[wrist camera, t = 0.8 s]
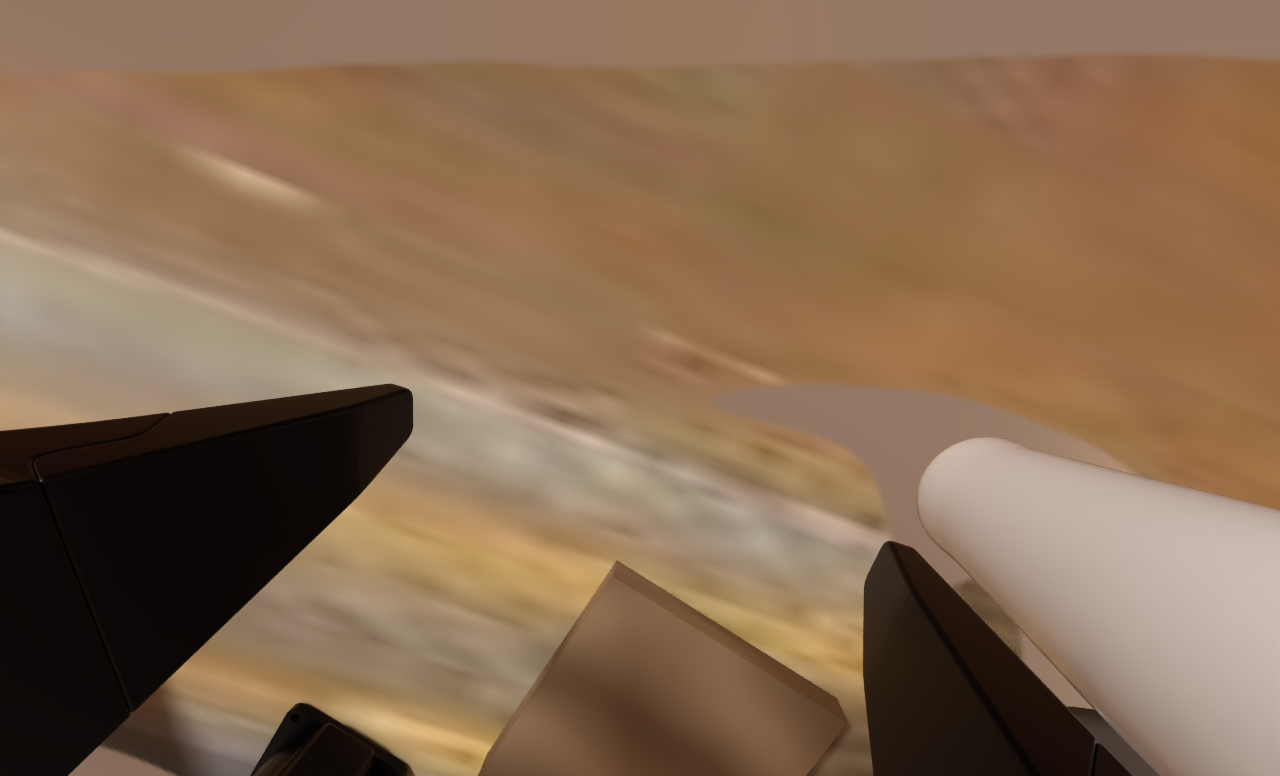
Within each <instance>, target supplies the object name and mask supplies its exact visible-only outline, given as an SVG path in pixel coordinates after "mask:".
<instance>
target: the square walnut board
mask: <svg viewBox="0 0 1280 776" xmlns="http://www.w3.org/2000/svg"><path fill="white" fill-rule="evenodd" d="M847 724H848V723H847V721H846V719H845V716H844V714H843V712H842V710H841V707H840V705H839V703H838V700H837V698H835V697H834V696H832V695H830V694H829V693H827V692H826V691H824V690H822V689H821V688H819V687H818V686H816V685H814V684H813V683H811V682H810V681H808V680H806V679H805V678H803V677H802V676H800V675H798V674H797V673H795V672H794V671H792V670H791V669H789V668H787V667H786V666H784V665H783V664H781V663H779V662H778V661H776V660H775V659H773V658H771V657H770V656H768V655H767V654H765V653H763V652H762V651H760V650H759V649H757V648H755V647H754V646H752V645H751V644H749V643H747V642H746V641H744V640H743V639H741V638H740V637H738V636H736V635H735V634H733V633H732V632H730V631H728V630H727V629H725V628H724V627H722V626H720V625H719V624H717V623H716V622H714V621H712V620H711V619H709V618H708V617H706V616H704V615H703V614H701V613H700V612H698V611H696V610H695V609H693V608H692V607H690V606H689V605H687V604H685V603H684V602H682V601H681V600H679V599H677V598H676V597H674V596H673V595H671V594H669V593H668V592H666V591H665V590H663V589H661V588H660V587H658V586H657V585H655V584H653V583H652V582H650V581H649V580H647V579H646V578H644V577H642V576H641V575H639V574H638V573H636V572H634V571H633V570H631V569H630V568H628V567H626V566H625V565H623V564H622V563H620V562H618V561H616V563H615V564H614V566H613V567H612V569H611V570H610V572H609V573H608V575H607V576H606V578H605V579H604V581H603V582H602V584H601V585H600V587H599V588H598V590H597V591H596V593H595V594H594V596H593V597H592V599H591V600H590V602H589V603H588V605H587V606H586V608H585V609H584V610H583V612H582V613H581V615H580V616H579V618H578V619H577V621H576V622H575V624H574V625H573V627H572V628H571V630H570V631H569V633H568V634H567V636H566V637H565V639H564V640H563V642H562V643H561V645H560V646H559V648H558V649H557V651H556V652H555V654H554V655H553V657H552V658H551V660H550V661H549V663H548V664H547V666H546V667H545V669H544V670H543V671H542V673H541V674H540V676H539V677H538V679H537V680H536V682H535V683H534V685H533V686H532V688H531V689H530V691H529V692H528V694H527V695H526V697H525V698H524V700H523V701H522V703H521V704H520V706H519V707H518V709H517V710H516V712H515V713H514V715H513V716H512V718H511V719H510V721H509V722H508V724H507V725H506V727H505V728H504V730H503V731H502V732H501V734H500V735H499V737H498V738H497V740H496V741H495V743H494V744H493V746H492V747H491V749H490V750H489V752H488V753H487V756H486V758H485V760H484V763H483V765H482V768H481V770H480V772H479V775H478V776H806V775H807V774H808V773H809V771H810V770H811V769H812V768H813V766H814V765H815V764H816V763H817V761H818V760H819V759H820V758H821V756H822V755H823V754H824V753H825V751H826V750H827V749H828V748H829V746H830V745H831V744H832V743H833V741H834V740H835V739H836V738H837V736H838V735H839V734H840V733H841V731H842V730H843V729H844V728H845V726H846V725H847Z"/></svg>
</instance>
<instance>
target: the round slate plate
mask: <svg viewBox="0 0 1280 776" xmlns="http://www.w3.org/2000/svg"><path fill="white" fill-rule="evenodd" d="M1067 708H1068V709H1069V710H1070V711H1071V712H1072V713H1073V714H1074V715H1075V716H1076V717H1077V718H1078V719H1079V720H1080V721H1081V722H1082V723H1083V724H1084V726H1085V727H1086V728H1087V729H1088V730H1089V731H1090V732H1091V733H1092V734H1093V735H1094V736H1095V737H1096V739H1097V743H1101V744H1103V745H1104V746H1105V747H1106V748H1107V749H1108V750H1109V751H1110V752H1111V753H1112V754H1113V755H1114V757H1115V758H1116V759H1117V760H1118V761H1119V762H1120V763H1121V764H1122V765H1123V766H1124V767H1125V768H1126V769H1127V770H1128V771H1129V772H1130V773H1131V774H1132V775H1133V776H1159V775H1158V774H1157V773H1156V772H1155V771H1154V770H1153V769H1152V768H1151V767H1150V766H1149V765H1148V764H1147V763H1146V762H1145V761H1144V760H1143V759H1142V758H1141V757H1140V756H1139V755H1138V754H1137V753H1136V752H1135V751H1134V750H1133V749H1132V748H1131V747H1130V746H1129V745H1128V744H1127V743H1126V742H1125V741H1124V740H1123V739H1122V738H1121V737H1120V736H1119V735H1118V734H1117V733H1116V732H1115V731H1114V730H1113V729H1112V728H1111V727H1110V725H1109V724H1108V723H1107V722H1106V721H1105V720H1104V719H1103V718H1102V717H1101V716H1100V715H1099V714H1098V713H1097V712H1096V711H1095V710H1092V709H1085V708H1078V707H1067Z"/></svg>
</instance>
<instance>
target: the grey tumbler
mask: <svg viewBox="0 0 1280 776" xmlns="http://www.w3.org/2000/svg"><path fill="white" fill-rule="evenodd" d="M917 510H918V515H919V518H920V521H921V523H922V525H923V527H924V529H925V531H926V532H927V534H928V535H929V537H930V538H931V539H932V540H933V541H934V542H935V543H936V544H937V545H938V546H939V547H940V548H941V549H942V550H943V551H945V552H946V553H947V554H948V555H949V556H950V557H952V558H953V559H954V560H955V561H956V562H957V563H958V564H959V565H960V566H961V567H962V568H963V569H964V570H965V571H966V572H967V573H968V574H969V575H970V576H971V577H972V578H973V580H974V581H975V582H976V583H977V584H978V585H979V586H980V587H981V588H982V589H983V590H984V591H985V592H986V593H987V594H988V595H989V596H990V598H991V599H992V600H993V601H994V602H995V603H996V604H997V605H998V606H999V607H1000V608H1001V609H1002V610H1003V611H1004V612H1005V614H1006V615H1007V616H1008V617H1009V618H1010V619H1011V620H1012V621H1013V622H1014V623H1015V624H1016V625H1017V626H1018V628H1019V629H1020V630H1021V631H1022V632H1023V633H1024V634H1025V635H1026V636H1027V637H1028V638H1029V639H1030V640H1031V642H1032V643H1033V644H1034V645H1035V646H1036V647H1037V648H1038V649H1039V650H1040V651H1041V652H1042V653H1043V654H1044V656H1046V658H1047V659H1048V660H1049V661H1050V662H1051V663H1052V664H1053V665H1054V666H1055V667H1056V669H1058V671H1059V672H1060V673H1061V674H1062V675H1063V676H1064V677H1065V678H1066V679H1067V680H1068V681H1069V683H1070V684H1071V685H1072V686H1073V687H1074V688H1075V689H1076V690H1077V691H1078V692H1079V693H1080V694H1081V696H1082V697H1083V698H1084V699H1085V700H1086V701H1087V702H1088V703H1089V704H1090V705H1091V706H1092V707H1093V709H1094V710H1095V711H1096V712H1097V713H1098V714H1099V715H1100V716H1101V717H1102V718H1103V719H1104V720H1105V721H1106V722H1107V723H1108V724H1109V725H1110V727H1111V728H1112V729H1113V730H1114V731H1115V732H1116V733H1117V734H1118V735H1119V736H1120V737H1121V738H1122V739H1123V740H1124V741H1125V742H1126V743H1127V744H1128V745H1129V746H1130V747H1131V748H1132V749H1133V750H1134V751H1135V752H1136V753H1137V754H1138V755H1139V756H1140V757H1141V758H1142V759H1143V760H1144V761H1145V762H1146V763H1147V764H1148V765H1149V766H1150V767H1151V768H1152V769H1153V770H1154V771H1155V772H1156V773H1157V774H1158V775H1159V776H1280V510H1279V509H1275V508H1271V507H1267V506H1263V505H1259V504H1255V503H1251V502H1246V501H1242V500H1238V499H1234V498H1230V497H1226V496H1222V495H1218V494H1213V493H1209V492H1205V491H1201V490H1197V489H1193V488H1188V487H1184V486H1180V485H1176V484H1172V483H1168V482H1164V481H1159V480H1155V479H1151V478H1147V477H1143V476H1139V475H1135V474H1131V473H1127V472H1122V471H1118V470H1114V469H1110V468H1106V467H1102V466H1098V465H1094V464H1090V463H1086V462H1082V461H1078V460H1074V459H1070V458H1066V457H1062V456H1058V455H1054V454H1050V453H1047V452H1043V451H1039V450H1035V449H1032V448H1029V447H1027V446H1024V445H1022V444H1019V443H1016V442H1013V441H1010V440H1006V439H1002V438H994V437H979V438H972V439H968V440H964V441H961V442H959V443H957V444H954V445H953V446H950V447H949V448H947V449H945V450H944V451H942V452H941V453H940V454H939V455H937V456H936V458H934V459H933V461H932V462H931V463H930V464H929V465H928V467H927V468H926V470H925V472H924V473H923V475H922V478H921V480H920V483H919V486H918V491H917Z"/></svg>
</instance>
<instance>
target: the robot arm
mask: <svg viewBox="0 0 1280 776" xmlns="http://www.w3.org/2000/svg"><path fill="white" fill-rule="evenodd" d="M412 429H413V395H412V392H411V391H410V390H409V389H407V388H404V387H401V386H398V385H394V384H382V385H375V386H367V387H360V388H352V389H344V390H337V391H329V392H321V393H314V394H306V395H298V396H291V397H283V398H276V399H268V400H260V401H253V402H245V403H237V404H230V405H222V406H215V407H207V408H199V409H192V410H184V411H176V412H173V413H172V414H170V413H160V414H153V415H145V416H137V417H129V418H121V419H112V420H104V421H96V422H86V423H76V424H67V425H57V426H47V427H37V428H26V429H16V430H5V431H0V776H68V775H69V774H70V773H71V772H72V771H73V770H74V769H75V768H76V767H77V766H78V765H79V764H80V763H81V762H82V761H84V759H86V758H87V757H88V756H89V755H90V754H91V753H92V752H93V751H94V750H95V749H96V748H97V747H98V746H99V745H100V744H101V743H102V742H103V741H104V740H105V739H106V738H107V737H109V736H110V735H111V734H112V733H113V732H114V731H115V730H116V729H117V728H118V727H119V726H120V725H121V724H122V723H123V722H124V721H125V720H126V719H127V718H128V717H129V716H130V715H131V713H130V712H134V711H135V710H136V709H137V708H138V707H139V706H140V705H141V704H142V703H143V702H145V701H146V700H147V699H148V698H149V697H150V696H151V695H152V694H153V693H154V692H155V691H156V690H157V689H158V688H159V687H160V686H161V685H162V684H163V683H164V682H165V681H166V680H167V679H169V678H170V677H171V676H172V675H173V674H174V673H175V672H176V671H177V670H178V669H179V668H180V667H181V666H182V665H183V664H184V663H185V662H186V661H187V660H188V659H189V658H190V657H191V656H193V655H194V654H195V653H196V652H197V651H198V650H199V649H200V648H201V647H202V646H203V645H204V644H205V643H206V642H207V641H208V640H209V639H210V638H211V637H212V636H213V635H214V634H215V633H217V632H218V631H219V630H220V629H221V628H222V627H223V626H224V625H225V624H226V623H227V622H228V621H229V620H230V619H231V618H232V617H233V616H234V615H235V614H236V613H237V612H238V611H239V610H241V609H242V608H243V607H244V606H245V605H246V604H247V603H248V602H249V601H250V600H251V599H252V598H253V597H254V596H255V595H256V594H257V593H258V592H259V591H260V590H261V589H262V588H263V587H265V586H266V585H267V584H268V583H269V582H270V581H271V580H272V579H273V578H274V577H275V576H276V575H277V574H278V573H279V572H280V571H281V570H282V569H283V568H284V567H285V566H286V565H287V564H288V563H290V562H291V561H292V560H293V559H294V558H295V557H296V556H297V555H298V554H299V553H300V552H301V551H302V550H303V549H304V548H305V547H306V546H307V545H308V544H309V543H310V542H311V541H312V540H314V539H315V538H316V537H317V536H318V535H319V534H320V533H321V532H322V531H323V530H324V529H325V528H326V527H327V526H328V525H329V524H330V523H331V522H332V521H333V520H334V519H335V518H336V517H338V516H339V515H340V514H341V513H342V512H343V511H344V510H345V509H346V508H347V507H348V506H349V505H350V504H351V503H352V502H353V501H354V500H355V499H356V498H357V497H358V496H359V495H360V494H361V493H362V492H363V491H364V490H365V488H366V487H367V486H368V485H369V484H370V483H371V482H372V480H373V479H374V478H375V477H376V476H377V475H378V473H379V472H380V471H381V470H382V469H383V468H384V466H385V465H386V464H387V463H388V462H389V461H390V459H391V458H392V457H393V456H394V455H395V454H396V452H397V451H398V450H399V449H400V448H401V446H402V445H403V444H404V443H405V442H406V441H407V439H408V438H409V436H410V435H411V432H412ZM863 678H864V691H865V700H866V709H867V719H868V728H869V737H870V747H871V756H872V765H873V774H874V776H1133V775H1132V774H1131V773H1130V772H1129V771H1128V770H1127V769H1126V768H1125V767H1124V766H1123V765H1122V764H1121V763H1120V762H1119V761H1118V760H1117V759H1116V758H1115V757H1114V755H1113V754H1112V753H1111V752H1110V751H1109V750H1108V749H1107V748H1106V747H1105V746H1104V745H1103V744H1101V743H1097V739H1096V737H1095V736H1094V735H1093V734H1092V733H1091V732H1090V731H1089V730H1088V729H1087V728H1086V727H1085V726H1084V724H1083V723H1082V722H1081V721H1080V720H1079V719H1078V718H1077V717H1076V716H1075V715H1074V714H1073V713H1072V712H1071V711H1070V710H1069V709H1068V708H1067V707H1066V706H1065V705H1064V704H1063V703H1062V702H1061V701H1060V700H1059V699H1058V697H1057V696H1056V695H1055V694H1054V693H1053V692H1052V691H1051V690H1050V689H1049V688H1048V687H1047V686H1046V685H1045V684H1044V683H1043V682H1042V681H1041V680H1040V679H1039V678H1038V677H1037V676H1036V675H1035V674H1034V673H1033V672H1032V670H1031V669H1030V668H1029V667H1028V666H1027V665H1026V664H1025V663H1024V662H1023V661H1022V660H1021V659H1020V658H1019V657H1018V656H1017V655H1016V654H1015V653H1014V652H1013V651H1012V650H1011V649H1010V648H1009V647H1008V646H1007V645H1006V644H1005V642H1004V641H1003V640H1002V639H1001V638H1000V637H999V636H998V635H997V634H996V633H995V632H994V631H993V630H992V629H991V628H990V627H989V626H988V625H987V624H986V623H985V622H984V621H983V620H982V619H981V618H980V617H979V615H978V614H977V613H976V612H975V611H974V610H973V609H972V608H971V607H970V606H969V605H968V604H967V603H966V602H965V601H964V600H963V599H962V598H961V597H960V596H959V595H958V594H957V593H956V592H955V591H954V590H953V588H952V587H951V586H950V585H949V584H948V583H947V582H946V581H945V580H944V579H943V578H942V577H941V576H940V575H939V574H938V573H937V572H936V571H935V570H934V569H933V568H932V567H931V566H930V565H929V564H928V563H927V562H926V561H925V559H924V558H923V557H921V555H920V554H919V553H918V552H917V551H916V550H915V549H914V548H912V547H910V546H906V545H903V544H900V543H897V542H893V541H887V542H885V543H884V544H883V546H882V547H881V549H880V551H879V553H878V555H877V557H876V559H875V561H874V563H873V565H872V567H871V569H870V571H869V573H868V575H867V577H866V580H865V585H864V622H863ZM299 715H300V716H299ZM394 773H395V774H396V775H395V774H394ZM406 775H407V768H406V766H405V765H404V764H403V763H401V762H400V761H398V760H396V759H395V758H393V757H391V756H390V755H388V754H386V753H385V752H383V751H382V750H380V749H378V748H377V747H375V746H373V745H372V744H370V743H368V742H367V741H365V740H364V739H362V738H360V737H359V736H357V735H355V734H354V733H352V732H350V731H349V730H347V729H346V728H344V727H342V726H341V725H339V724H337V723H336V722H334V721H332V720H331V719H329V718H327V717H326V716H324V715H323V714H321V713H319V712H318V711H316V710H314V709H313V708H311V707H309V706H308V705H306V704H304V703H298V704H295V705H294V706H293V708H292V709H291V710H290V711H289V712H288V713H287V714H286V716H285V718H284V719H283V721H282V723H281V724H280V726H279V728H278V729H277V731H276V733H275V735H274V736H273V738H272V740H271V741H270V743H269V745H268V746H267V748H266V750H265V752H264V753H263V755H262V757H261V758H260V760H259V762H258V764H257V765H256V767H255V769H254V770H253V772H252V774H251V775H250V776H406Z"/></svg>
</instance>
